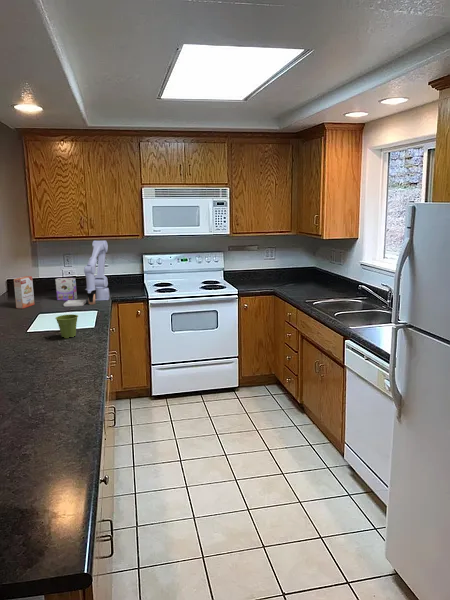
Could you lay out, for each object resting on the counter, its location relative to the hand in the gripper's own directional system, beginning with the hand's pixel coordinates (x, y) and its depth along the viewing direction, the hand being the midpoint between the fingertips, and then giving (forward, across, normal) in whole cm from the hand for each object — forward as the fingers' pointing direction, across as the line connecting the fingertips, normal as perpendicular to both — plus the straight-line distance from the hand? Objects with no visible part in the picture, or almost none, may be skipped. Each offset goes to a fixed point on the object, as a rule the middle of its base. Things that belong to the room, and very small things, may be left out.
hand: (92, 301), depth 352 cm
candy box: (+2, -18, -22) cm, 29 cm away
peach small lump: (+2, 0, 0) cm, 2 cm away
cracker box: (+2, +2, -46) cm, 46 cm away
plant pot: (+2, +88, +4) cm, 88 cm away
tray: (+2, 0, -12) cm, 12 cm away
